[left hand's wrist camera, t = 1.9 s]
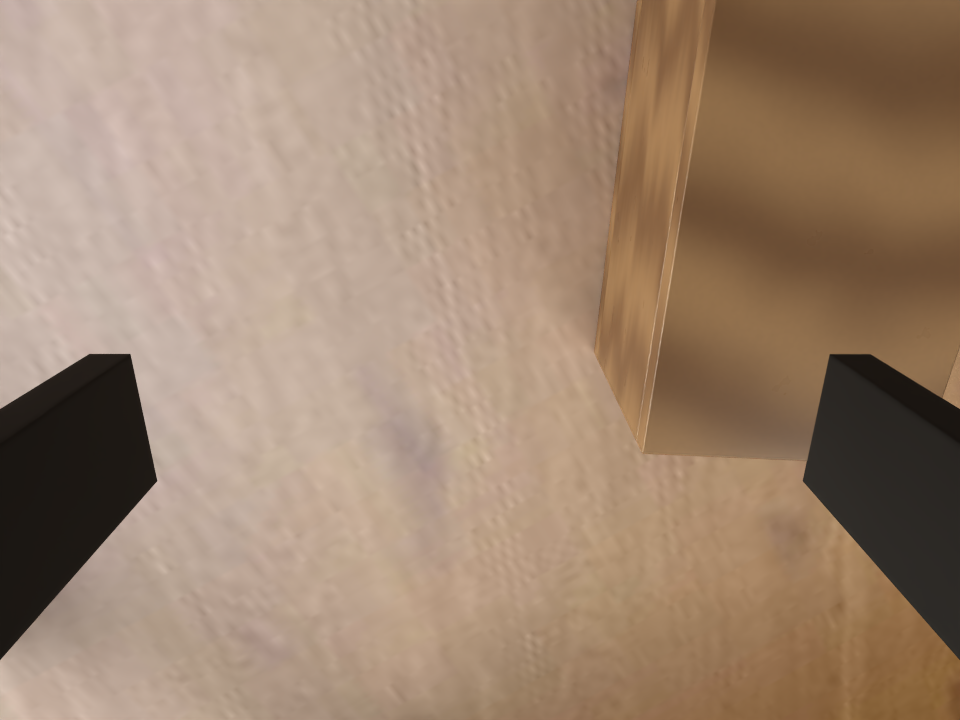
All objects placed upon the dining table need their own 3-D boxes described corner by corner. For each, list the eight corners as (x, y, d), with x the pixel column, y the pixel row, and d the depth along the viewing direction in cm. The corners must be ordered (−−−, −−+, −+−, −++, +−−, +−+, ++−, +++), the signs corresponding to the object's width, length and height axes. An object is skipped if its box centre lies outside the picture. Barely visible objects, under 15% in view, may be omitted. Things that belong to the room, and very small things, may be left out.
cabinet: (636, -1, 29) (725, -65, 19) (873, 13, 29) (1093, -43, 19) (593, 352, 35) (641, 454, 25) (789, 362, 36) (919, 466, 25)
